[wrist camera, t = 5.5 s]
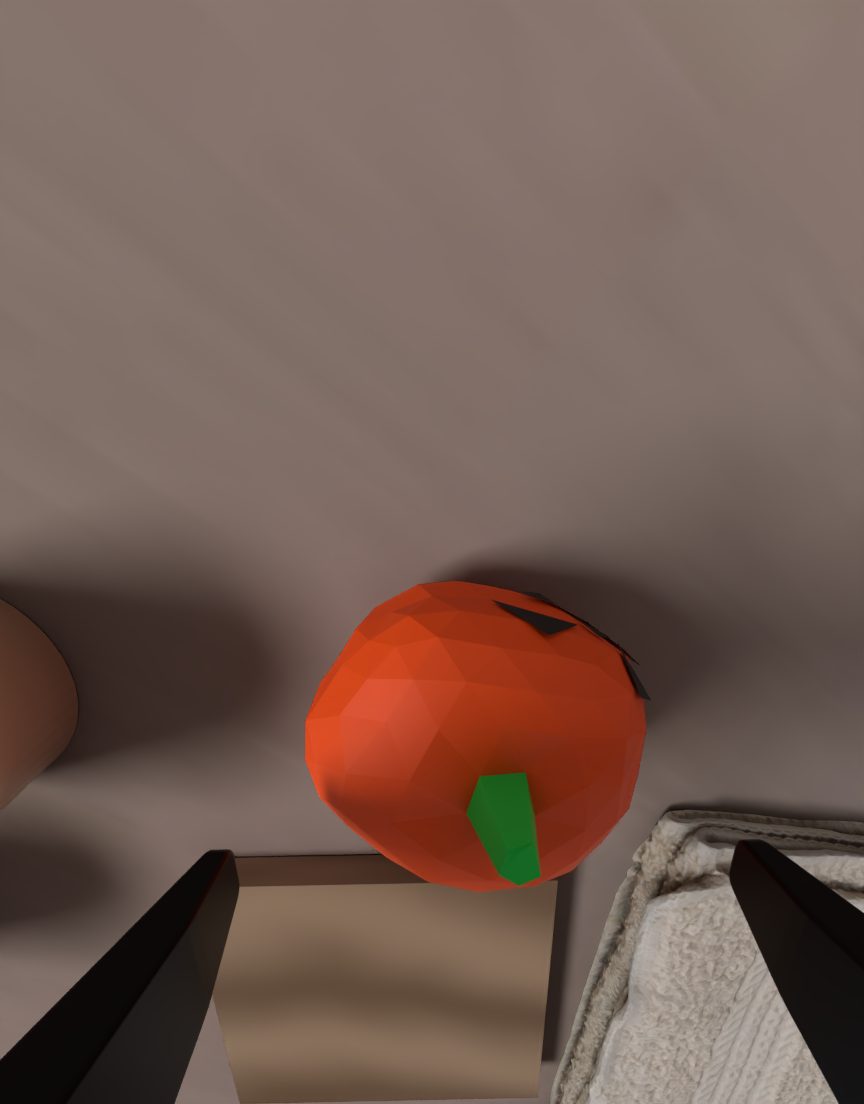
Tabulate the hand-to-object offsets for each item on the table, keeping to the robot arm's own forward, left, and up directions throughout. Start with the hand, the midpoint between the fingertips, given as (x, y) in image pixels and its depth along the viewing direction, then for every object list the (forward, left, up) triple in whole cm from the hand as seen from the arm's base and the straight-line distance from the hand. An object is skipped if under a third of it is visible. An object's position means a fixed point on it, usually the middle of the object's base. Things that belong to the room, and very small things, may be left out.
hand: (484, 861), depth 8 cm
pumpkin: (0, 0, -6) cm, 6 cm away
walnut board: (-13, +3, -6) cm, 14 cm away
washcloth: (-14, -11, -6) cm, 19 cm away
